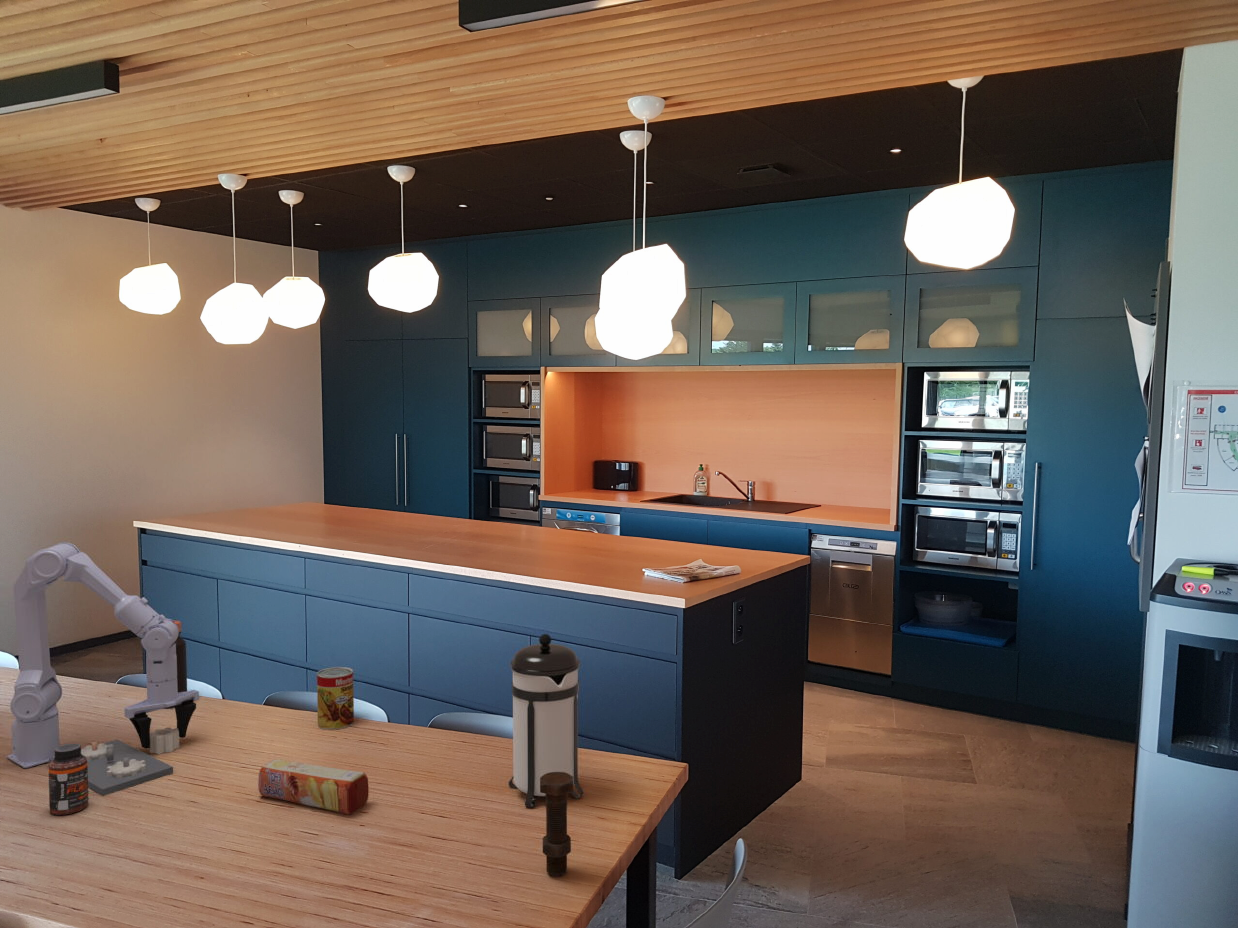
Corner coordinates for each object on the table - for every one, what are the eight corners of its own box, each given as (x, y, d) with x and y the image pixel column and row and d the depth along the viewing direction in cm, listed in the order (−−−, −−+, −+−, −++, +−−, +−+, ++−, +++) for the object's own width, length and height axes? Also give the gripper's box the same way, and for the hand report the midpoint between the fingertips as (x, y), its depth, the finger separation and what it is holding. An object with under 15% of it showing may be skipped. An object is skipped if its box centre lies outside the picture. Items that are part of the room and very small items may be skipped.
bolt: (540, 863, 139) (540, 770, 138) (572, 862, 139) (572, 769, 139) (540, 883, 133) (539, 786, 132) (573, 881, 134) (573, 785, 133)
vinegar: (149, 707, 211) (147, 625, 210) (168, 698, 218) (166, 619, 217) (175, 709, 210) (173, 626, 209) (193, 700, 217) (191, 620, 216)
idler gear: (143, 749, 186) (142, 733, 185) (171, 741, 190) (170, 725, 190) (156, 756, 182) (156, 739, 182) (184, 747, 187) (184, 731, 186)
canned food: (347, 729, 197) (346, 677, 197) (312, 729, 197) (311, 676, 197) (358, 717, 205) (357, 666, 204) (324, 717, 205) (323, 666, 205)
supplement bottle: (70, 817, 154) (67, 754, 154) (41, 814, 156) (38, 751, 155) (96, 803, 160) (94, 742, 160) (68, 800, 161) (66, 739, 161)
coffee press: (601, 781, 170) (601, 628, 168) (561, 816, 155) (561, 648, 154) (523, 766, 177) (523, 618, 175) (478, 797, 163) (477, 637, 161)
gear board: (49, 764, 178) (48, 740, 177) (117, 744, 188) (116, 722, 188) (102, 795, 163) (101, 770, 163) (173, 772, 174) (172, 748, 173)
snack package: (254, 799, 162) (253, 763, 162) (281, 785, 168) (280, 751, 168) (348, 820, 154) (347, 782, 154) (372, 804, 160) (371, 768, 160)
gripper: (135, 690, 177) (137, 757, 178) (205, 673, 189) (207, 735, 189) (118, 684, 181) (121, 748, 182) (188, 667, 193) (190, 728, 194)
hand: (163, 741), depth 186 cm, fingers open, 7 cm apart
